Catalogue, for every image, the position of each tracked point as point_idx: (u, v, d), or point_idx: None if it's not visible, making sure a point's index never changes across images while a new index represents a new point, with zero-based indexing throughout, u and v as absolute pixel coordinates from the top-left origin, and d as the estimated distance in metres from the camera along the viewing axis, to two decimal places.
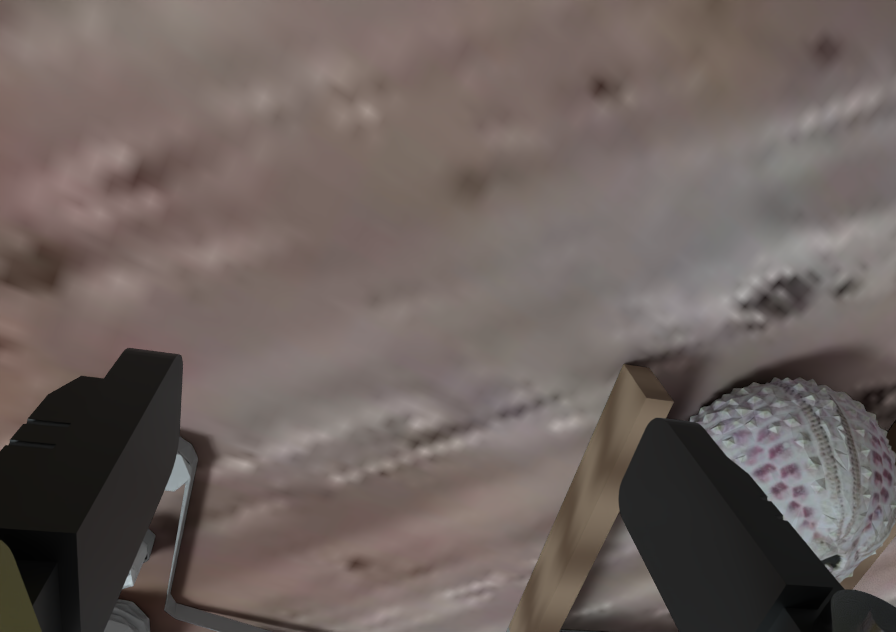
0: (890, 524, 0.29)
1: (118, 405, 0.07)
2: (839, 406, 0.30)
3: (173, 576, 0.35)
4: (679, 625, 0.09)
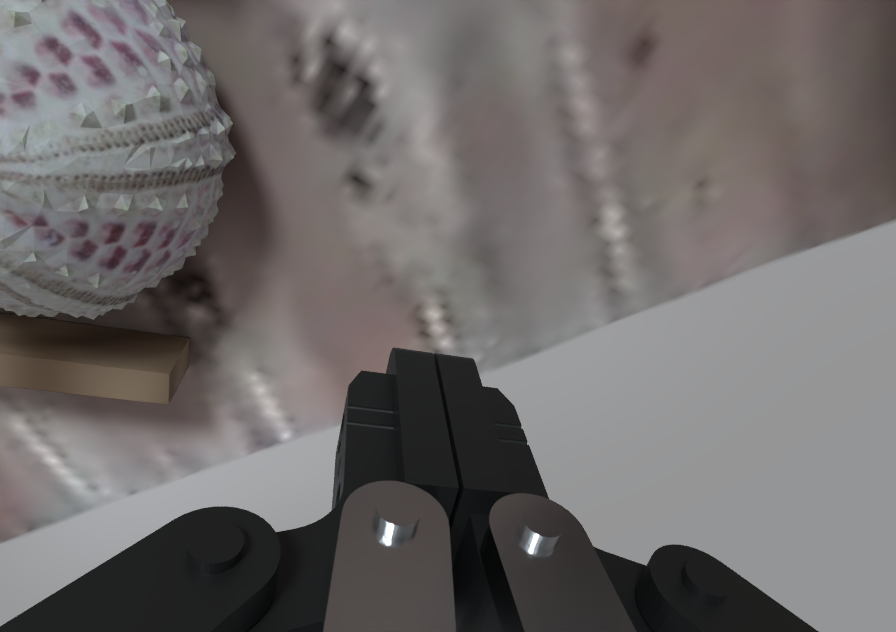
0: (27, 274, 0.18)
1: (421, 393, 0.09)
2: (210, 179, 0.20)
3: None
4: None
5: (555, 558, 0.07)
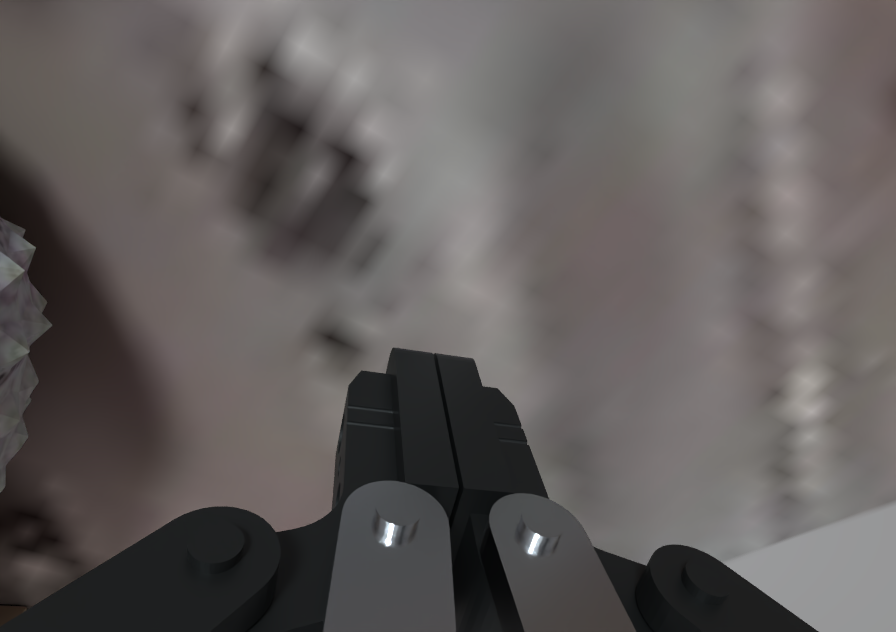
0: None
1: (421, 393, 0.09)
2: None
3: None
4: None
5: (555, 558, 0.07)
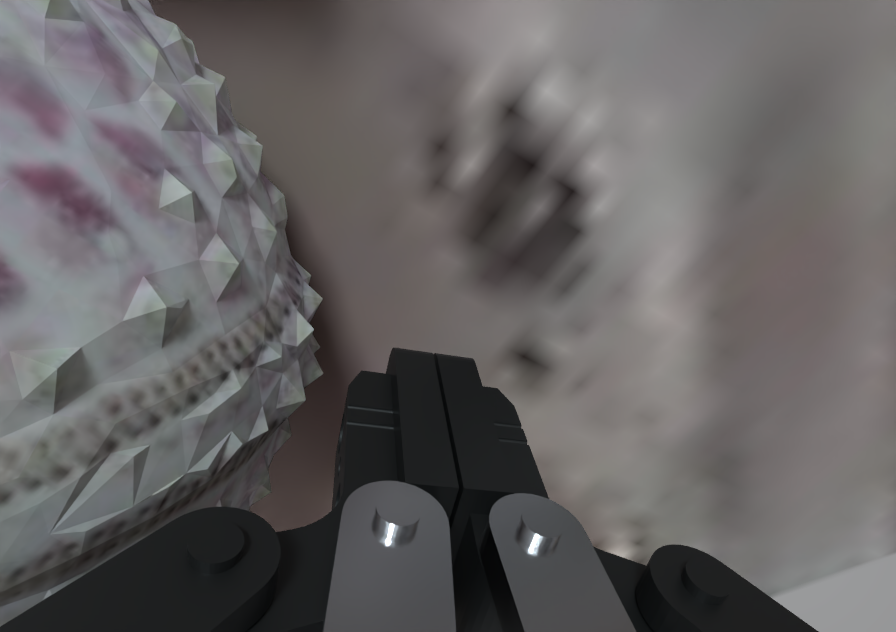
0: None
1: (421, 393, 0.09)
2: (273, 432, 0.09)
3: None
4: None
5: (555, 558, 0.07)
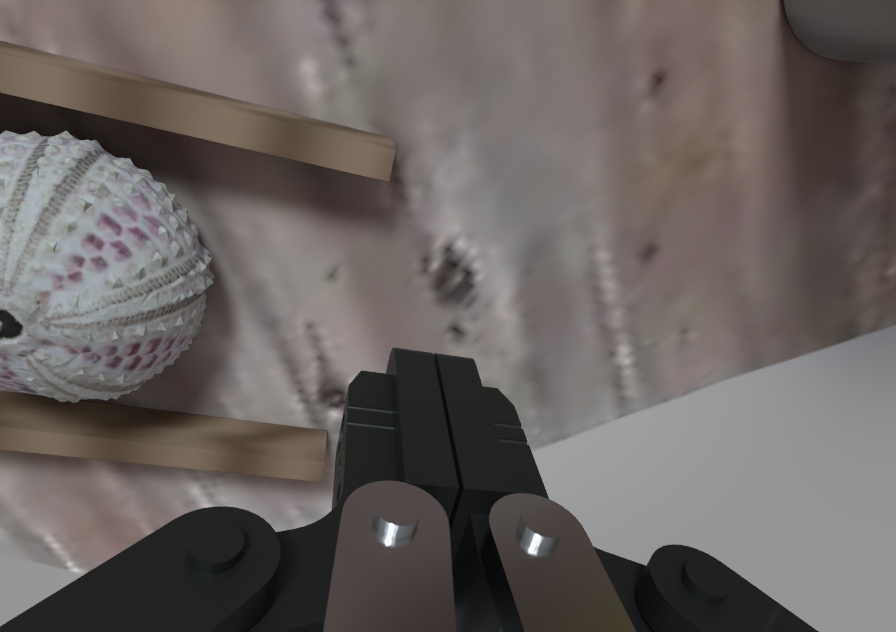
0: (77, 381, 0.26)
1: (421, 393, 0.09)
2: (197, 300, 0.29)
3: None
4: None
5: (555, 558, 0.07)
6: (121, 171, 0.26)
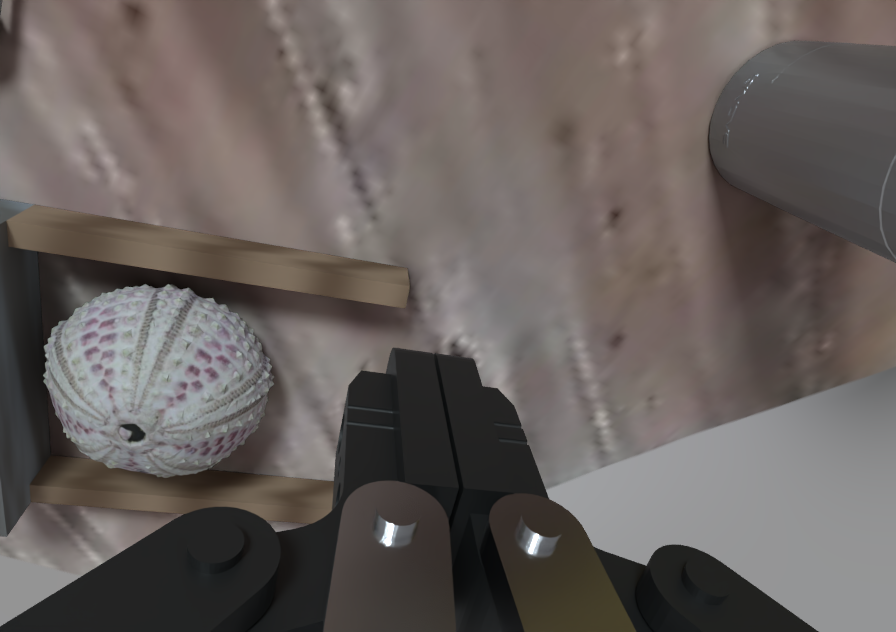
0: (179, 467, 0.36)
1: (421, 393, 0.09)
2: (262, 398, 0.38)
3: None
4: None
5: (555, 558, 0.07)
6: (209, 312, 0.35)
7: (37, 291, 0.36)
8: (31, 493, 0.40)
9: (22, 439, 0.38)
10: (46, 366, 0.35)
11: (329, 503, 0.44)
